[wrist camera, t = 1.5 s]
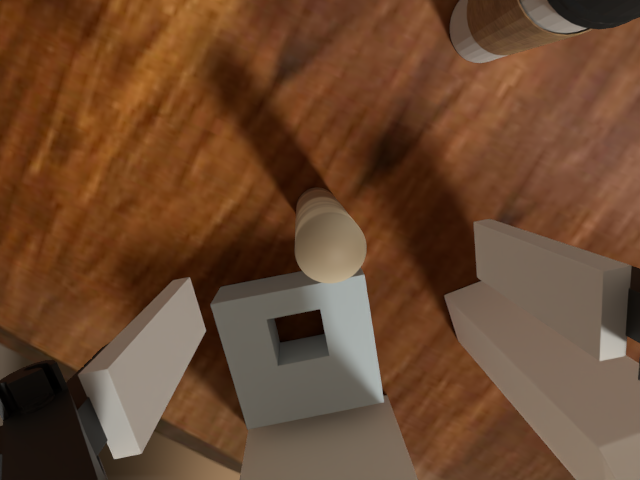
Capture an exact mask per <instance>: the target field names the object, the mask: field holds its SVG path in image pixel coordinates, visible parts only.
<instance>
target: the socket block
mask: <svg viewBox="0 0 640 480" xmlns="http://www.w3.org/2000/svg"><path fill="white" fill-rule="evenodd" d="M210 305H211V308H212V312H213V315H214V318H215V322H216V325H217V329H218V332H219V335H220V339H221V342H222V345H223V349H224V352H225V355H226V359H227V362H228V366H229V369H230V372H231V376H232V379H233V382H234V386H235V389H236V393H237V396H238V399H239V403H240V406H241V409H242V413H243V416H244V419H245V423H246V426H247V430H248V429H253V428H258V427H263V426H268V425H273V424H278V423H283V422H288V421H293V420H298V419H303V418H308V417H313V416H318V415H323V414H328V413H333V412H338V411H343V410H348V409H353V408H358V407H363V406H368V405H373V404H378V403H383V402H384V397H383V391H382V385H381V378H380V372H379V365H378V359H377V352H376V346H375V339H374V333H373V327H372V320H371V314H370V307H369V301H368V294H367V288H366V282H365V275H364V273H363V271H362V269H361V267H360V269H359V270H358V271H357V272H356V273H355V274H354V275H353V276H351V277H350V278H348V279H346V280H344V281H342V282H338V283H322V282H318V281H315V280H313V279H311V278H310V277H308V276H307V275H306V274H305V273H304V272H303V271H300V272H295V273H289V274H284V275H279V276H274V277H269V278H264V279H258V280H253V281H248V282H243V283H238V284H233V285H227V286H222V287H220V289H219V290H218V292H217V294H216V296H215V297H214V299H213V301H212V303H211V304H210ZM318 309H320V311H321V316H322V321H323V326H324V331H325V334H322V335H317V336H311V337H306V338H301V339H296V340H291V341H286V342H281V343H280V340H279V336H278V332H277V328H276V323H275V319H274V318H277V317H282V316H287V315H293V314H298V313H303V312H308V311H313V310H318Z"/></svg>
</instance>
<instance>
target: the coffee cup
mask: <svg viewBox="0 0 640 480" xmlns="http://www.w3.org/2000/svg"><path fill="white" fill-rule="evenodd" d="M639 17H640V0H459V2H458V3H457V4H456V6H455V8H454V10H453V13H452V16H451V21H450V37H451V41H452V44H453V46H454V48H455V49H456V51H457V52H458V53H459V54H460V55H461V56H462V57H463V58H464V59H466V60H468V61H471V62H474V63H484V62H489V61H492V60H495V59H498V58H501V57H504V56H507V55H511V54H515V53H518V52H522V51H525V50H529V49H532V48H536V47H539V46H542V45H546V44H549V43H553V42H556V41H560V40H563V39H566V38H570V37H573V36H577V35H580V34H583V33H585V32H588V31H591V30H593V29H606V28H613V27H616V26H619V25H622V24H625V23H627V22H629V21H631V20H633V19H636V18H639Z"/></svg>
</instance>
